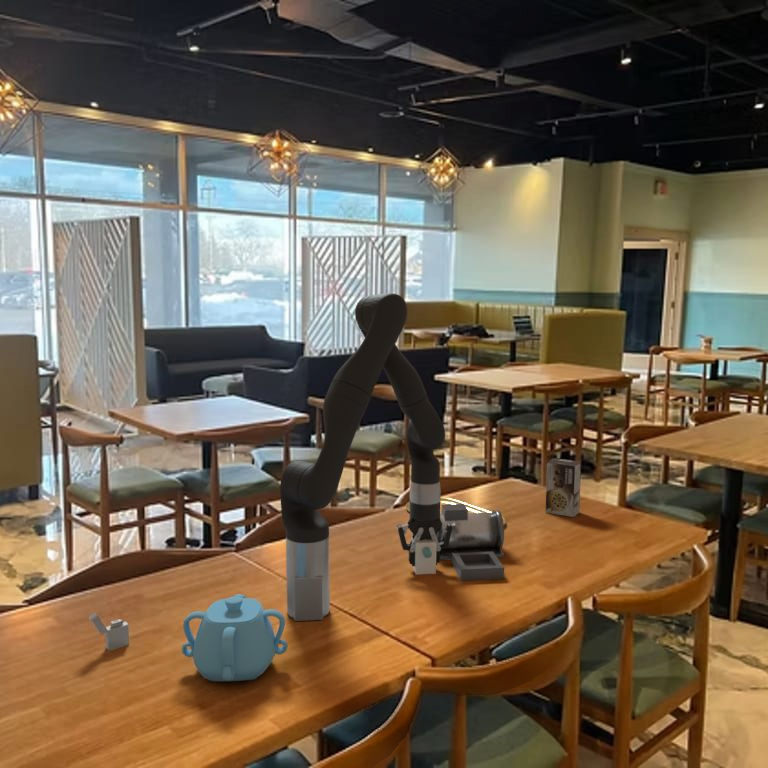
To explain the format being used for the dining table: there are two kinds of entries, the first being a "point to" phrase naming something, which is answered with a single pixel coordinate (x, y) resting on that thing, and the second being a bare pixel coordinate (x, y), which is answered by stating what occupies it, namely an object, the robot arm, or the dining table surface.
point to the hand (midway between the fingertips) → (424, 564)
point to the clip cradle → (477, 566)
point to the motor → (471, 531)
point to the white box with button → (425, 557)
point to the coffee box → (563, 487)
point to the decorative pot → (234, 639)
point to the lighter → (112, 632)
